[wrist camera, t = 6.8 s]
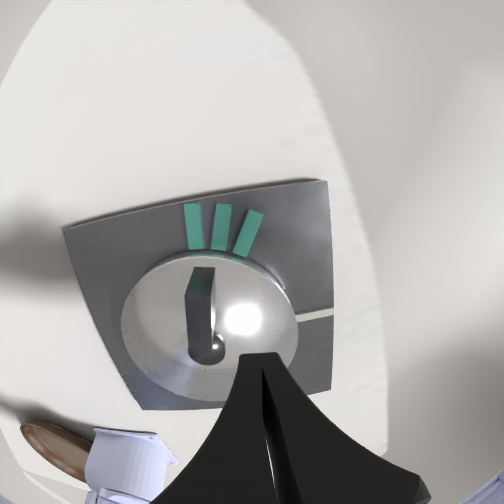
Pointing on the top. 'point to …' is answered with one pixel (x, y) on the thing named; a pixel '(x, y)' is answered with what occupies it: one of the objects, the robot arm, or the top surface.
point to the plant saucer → (58, 447)
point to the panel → (225, 240)
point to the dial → (205, 321)
